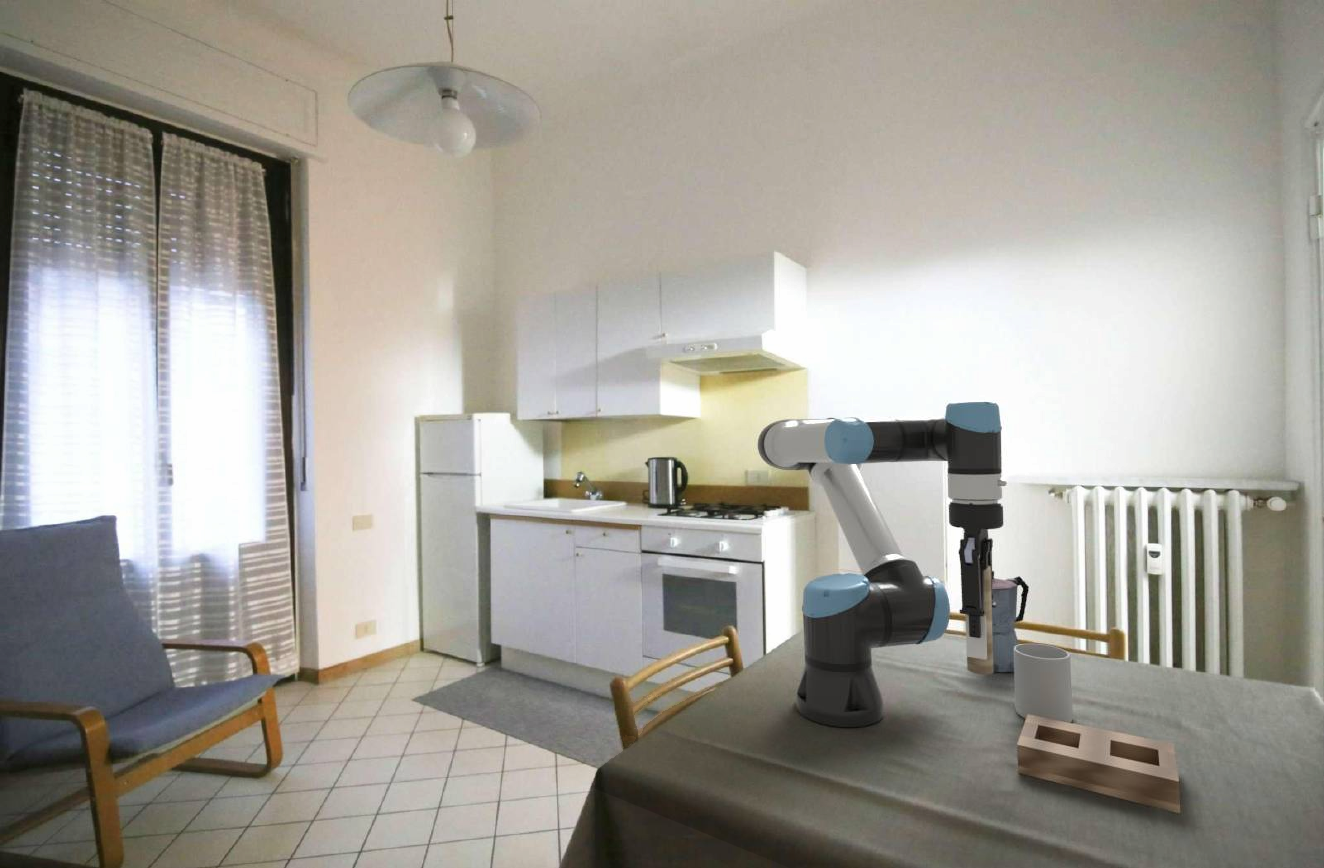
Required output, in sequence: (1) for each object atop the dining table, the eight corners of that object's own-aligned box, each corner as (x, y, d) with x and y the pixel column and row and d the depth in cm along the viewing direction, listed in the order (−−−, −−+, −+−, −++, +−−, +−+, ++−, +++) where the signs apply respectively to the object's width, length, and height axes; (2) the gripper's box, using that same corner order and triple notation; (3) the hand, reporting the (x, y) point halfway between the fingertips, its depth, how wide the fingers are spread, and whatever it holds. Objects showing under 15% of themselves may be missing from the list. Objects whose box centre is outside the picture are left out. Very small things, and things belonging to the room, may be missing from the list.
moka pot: (953, 662, 135) (949, 569, 135) (1009, 653, 140) (1006, 563, 140) (988, 678, 126) (984, 577, 126) (1047, 667, 130) (1044, 571, 131)
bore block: (1018, 772, 90) (1017, 744, 90) (1028, 739, 100) (1027, 714, 100) (1180, 813, 80) (1179, 781, 80) (1174, 772, 89) (1173, 743, 89)
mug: (1084, 725, 104) (1082, 658, 105) (1032, 726, 105) (1030, 659, 105) (1042, 696, 116) (1040, 636, 117) (995, 697, 117) (993, 637, 117)
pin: (965, 671, 97) (962, 567, 97) (969, 664, 100) (966, 563, 100) (991, 676, 94) (988, 569, 95) (995, 668, 97) (992, 565, 97)
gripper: (993, 507, 88) (998, 675, 88) (1010, 497, 102) (1014, 642, 102) (936, 505, 93) (940, 665, 93) (960, 495, 106) (964, 635, 106)
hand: (979, 653), depth 97 cm, fingers closed on pin, 3 cm apart
